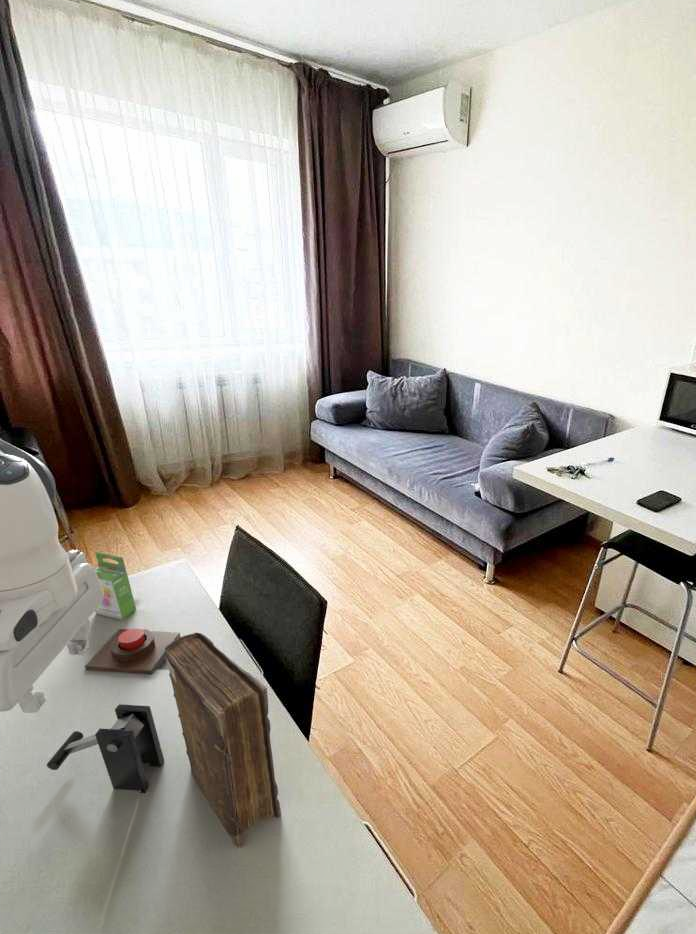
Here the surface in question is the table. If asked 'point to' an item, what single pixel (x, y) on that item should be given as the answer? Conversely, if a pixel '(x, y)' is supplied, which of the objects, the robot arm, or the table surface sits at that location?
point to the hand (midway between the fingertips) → (59, 677)
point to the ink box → (114, 588)
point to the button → (131, 639)
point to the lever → (91, 740)
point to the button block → (133, 654)
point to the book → (224, 732)
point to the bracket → (130, 750)
